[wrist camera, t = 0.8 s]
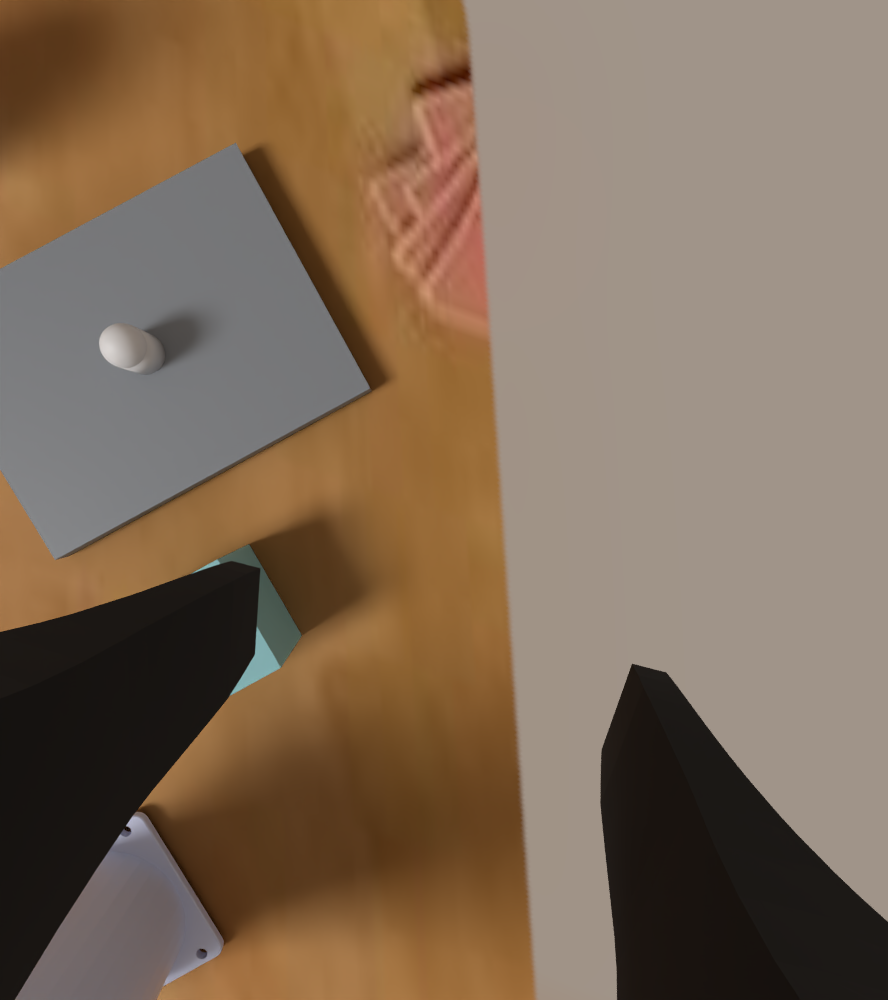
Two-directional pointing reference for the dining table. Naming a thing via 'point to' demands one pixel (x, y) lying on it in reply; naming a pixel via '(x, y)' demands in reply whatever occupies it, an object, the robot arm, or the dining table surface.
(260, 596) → the teal cube
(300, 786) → the dining table surface
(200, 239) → the pin board
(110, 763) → the robot arm
